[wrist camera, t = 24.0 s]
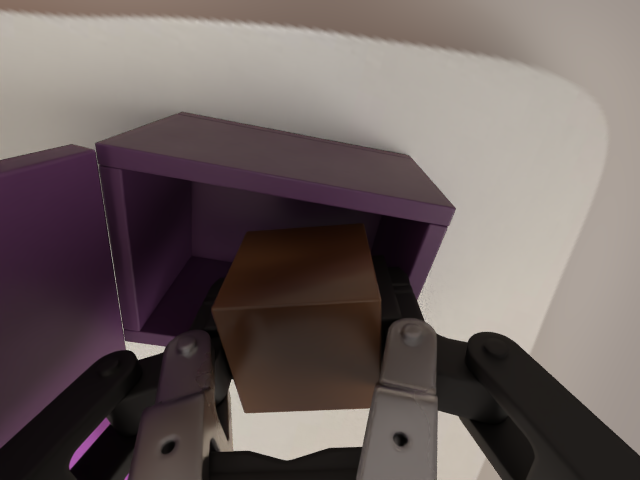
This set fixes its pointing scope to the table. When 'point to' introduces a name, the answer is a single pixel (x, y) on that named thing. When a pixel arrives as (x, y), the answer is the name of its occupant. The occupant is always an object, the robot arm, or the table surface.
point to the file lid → (52, 280)
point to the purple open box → (246, 208)
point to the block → (302, 319)
